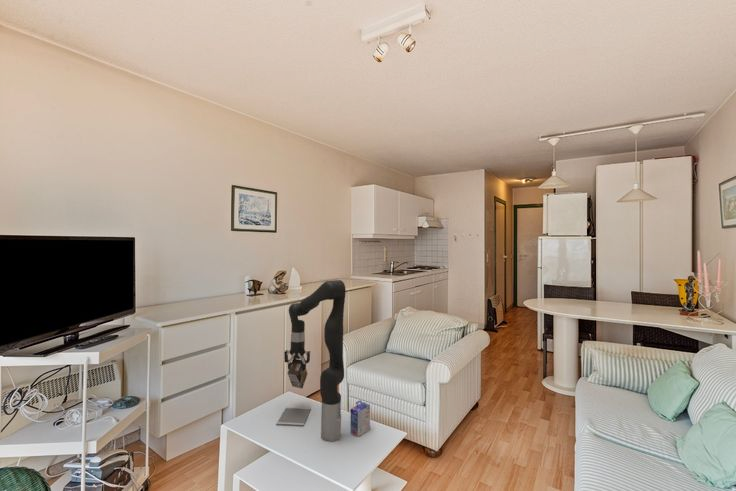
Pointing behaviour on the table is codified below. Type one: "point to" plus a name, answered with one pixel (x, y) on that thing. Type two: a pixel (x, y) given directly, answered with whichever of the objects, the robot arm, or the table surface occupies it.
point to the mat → (294, 416)
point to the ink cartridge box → (360, 418)
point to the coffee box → (297, 373)
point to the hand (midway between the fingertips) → (296, 370)
